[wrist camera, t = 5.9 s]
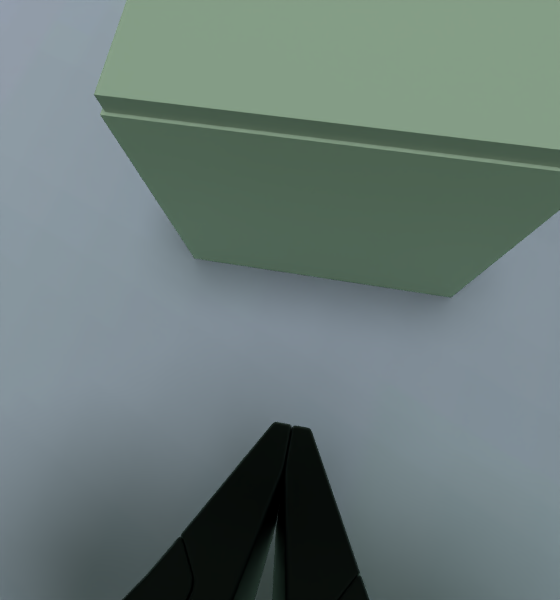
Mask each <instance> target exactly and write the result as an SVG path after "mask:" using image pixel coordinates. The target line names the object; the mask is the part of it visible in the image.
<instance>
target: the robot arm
mask: <svg viewBox="0 0 560 600" xmlns="http://www.w3.org/2000/svg"><path fill="white" fill-rule="evenodd" d="M278 510H279V511H278ZM277 516H278V518H277ZM276 521H277V525H276ZM275 526H276V536H275V555H274V574H273V594H272V600H369V597H368V594H367V591H366V589H365V586H364V583H363V580H362V577H361V576H359V574H360V572H359V569H358V566H357V563H356V560H355V557H354V554H353V551H352V548H351V545H350V542H349V539H348V536H347V533H346V530H345V527H344V525H343V522H342V519H341V516H340V513H339V510H338V507H337V504H336V501H335V498H334V495H333V492H332V489H331V486H330V483H329V480H328V478H327V475H326V472H325V469H324V466H323V463H322V460H321V457H320V454H319V451H318V448H317V445H316V442H315V439H314V436H313V434H312V431H311V429H310V428H306V427H301V426H293V427H291V425H290V424H285V423H279V422H274V423H273V424H272V425H271V426H270V427H269V428H268V430H267V431H266V432H265V433H264V434H263V436H262V437H261V438H260V439H259V440H258V442H257V443H256V444H255V445H254V447H253V448H252V449H251V450H250V451H249V453H248V454H247V455H246V456H245V457H244V459H243V460H242V461H241V462H240V464H239V465H238V466H237V467H236V468H235V470H234V471H233V472H232V473H231V474H230V476H229V477H228V478H227V479H226V481H225V482H224V483H223V484H222V485H221V487H220V488H219V489H218V490H217V491H216V493H215V494H214V495H213V496H212V498H211V499H210V500H209V501H208V502H207V504H206V505H205V506H204V507H203V508H202V510H201V511H200V512H199V513H198V515H197V516H196V517H195V518H194V519H193V521H192V522H191V523H190V524H189V525H188V527H187V528H186V529H185V530H184V532H183V533H182V534H181V537H179V538H178V539H177V540H176V541H175V542H174V543H173V545H172V546H171V547H170V548H169V549H168V551H167V552H166V553H165V554H164V555H163V556H162V558H161V559H160V560H159V561H158V562H157V563H156V564H155V566H154V567H153V568H152V569H151V570H150V571H149V572H148V574H147V575H146V576H145V577H144V578H143V579H142V580H141V581H140V582H139V583H138V584H137V585H136V586H135V587H134V588H133V589H132V590H131V591H130V592H129V593H128V594H127V595H126V596H125V597H124V598H123V599H122V600H254V599H255V596H256V592H257V589H258V586H259V582H260V579H261V575H262V572H263V568H264V565H265V562H266V558H267V555H268V551H269V548H270V544H271V541H272V538H273V534H274V530H275Z"/></svg>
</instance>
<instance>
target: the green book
mask: <svg viewBox="0 0 560 600" xmlns="http://www.w3.org/2000/svg"><path fill="white" fill-rule="evenodd" d="M94 95H95V97H96V98H97V100H98V101H99V103H100V105H101V106H102V111H101V114H100V115H101V117H102V118H103V120H104V121H105V123H106V124H107V126H108V127H109V129H110V130H111V132H112V133H113V135H114V136H115V138H116V140H117V141H118V143H119V144H120V146H121V147H122V149H123V150H124V152H125V153H126V155H127V156H128V158H129V159H130V161H131V162H132V164H133V165H134V167H135V168H136V170H137V171H138V173H139V175H140V176H141V178H142V179H143V181H144V182H145V184H146V185H147V187H148V188H149V190H150V191H151V193H152V194H153V196H154V197H155V199H156V200H157V202H158V203H159V205H160V206H161V208H162V210H163V211H164V213H165V214H166V216H167V217H168V219H169V220H170V222H171V223H172V225H173V226H174V228H175V229H176V231H177V232H178V234H179V235H180V237H181V238H182V240H183V242H184V243H185V245H186V246H187V248H188V249H189V251H190V252H191V254H192V255H193V257H194V258H195V259H202V260H208V261H215V262H221V263H228V264H234V265H241V266H248V267H254V268H261V269H267V270H274V271H280V272H287V273H293V274H300V275H307V276H313V277H320V278H326V279H333V280H339V281H346V282H353V283H359V284H366V285H372V286H379V287H385V288H392V289H398V290H405V291H412V292H418V293H425V294H431V295H438V296H444V297H452V296H453V295H455V294H456V293H457V292H458V291H460V290H461V289H462V288H463V287H465V286H466V285H467V284H468V283H470V282H471V281H472V280H473V279H475V278H476V277H477V276H478V275H480V274H481V273H482V272H483V271H484V270H486V269H487V268H488V267H489V266H491V265H492V264H493V263H494V262H496V261H497V260H498V259H499V258H501V257H502V256H503V255H504V254H506V253H507V252H508V251H509V250H511V249H512V248H513V247H514V246H516V245H517V244H518V243H519V242H520V241H522V240H523V239H524V238H525V237H527V236H528V235H529V234H530V233H532V232H533V231H534V230H535V229H537V228H538V227H539V226H540V225H542V224H543V223H544V222H545V221H547V220H548V219H549V218H550V217H551V216H553V215H554V214H555V213H556V212H558V211H559V210H560V0H127V1H126V4H125V7H124V10H123V13H122V16H121V19H120V21H119V24H118V27H117V30H116V33H115V36H114V39H113V42H112V44H111V47H110V50H109V53H108V56H107V59H106V62H105V65H104V67H103V70H102V73H101V76H100V79H99V82H98V85H97V88H96V90H95V93H94Z"/></svg>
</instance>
